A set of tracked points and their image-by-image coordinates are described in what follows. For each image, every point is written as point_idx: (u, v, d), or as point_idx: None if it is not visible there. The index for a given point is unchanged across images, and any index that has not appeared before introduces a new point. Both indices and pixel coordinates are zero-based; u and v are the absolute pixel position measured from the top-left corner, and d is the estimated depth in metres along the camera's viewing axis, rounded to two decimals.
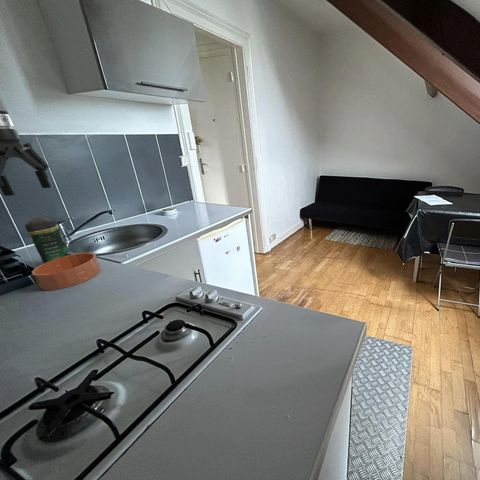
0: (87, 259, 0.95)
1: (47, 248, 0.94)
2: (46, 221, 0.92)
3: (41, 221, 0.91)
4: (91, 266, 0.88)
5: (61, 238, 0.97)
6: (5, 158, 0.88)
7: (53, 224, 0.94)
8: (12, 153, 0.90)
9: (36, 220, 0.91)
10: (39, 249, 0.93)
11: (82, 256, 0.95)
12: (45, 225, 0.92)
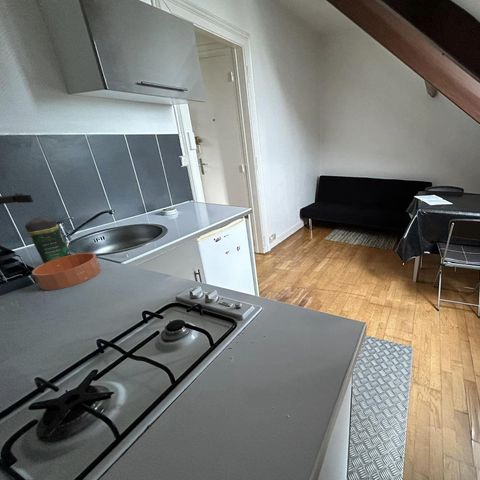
0: (87, 259, 0.95)
1: (47, 248, 0.94)
2: (46, 221, 0.92)
3: (41, 221, 0.91)
4: (91, 266, 0.88)
5: (61, 238, 0.97)
6: None
7: (53, 224, 0.94)
8: None
9: (36, 220, 0.91)
10: (39, 249, 0.93)
11: (82, 256, 0.95)
12: (45, 225, 0.92)
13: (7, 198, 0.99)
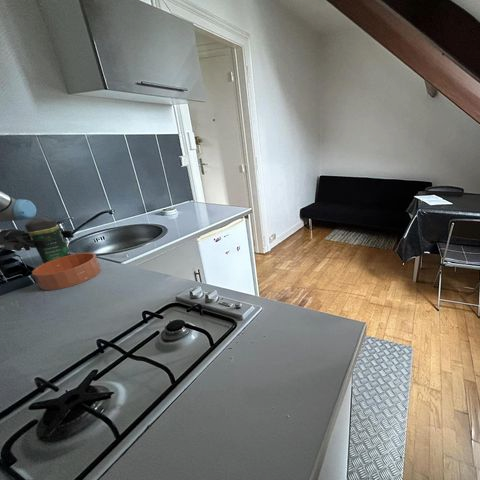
0: (87, 259, 0.95)
1: (47, 248, 0.94)
2: (46, 221, 0.92)
3: (41, 221, 0.91)
4: (91, 266, 0.88)
5: (61, 238, 0.97)
6: None
7: (53, 224, 0.94)
8: None
9: (36, 220, 0.91)
10: (39, 249, 0.93)
11: (82, 256, 0.95)
12: (45, 225, 0.92)
13: None
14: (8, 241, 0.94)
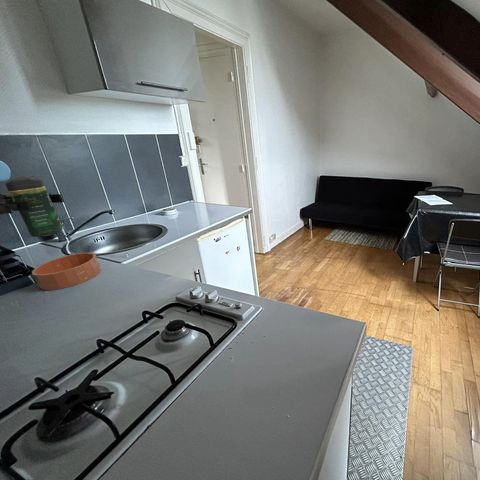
0: (87, 259, 0.95)
1: (32, 211, 0.80)
2: (31, 179, 0.79)
3: (25, 179, 0.78)
4: (91, 266, 0.88)
5: (49, 201, 0.84)
6: None
7: (39, 184, 0.81)
8: None
9: (19, 178, 0.78)
10: (22, 212, 0.80)
11: (82, 256, 0.95)
12: (29, 184, 0.79)
13: None
14: None
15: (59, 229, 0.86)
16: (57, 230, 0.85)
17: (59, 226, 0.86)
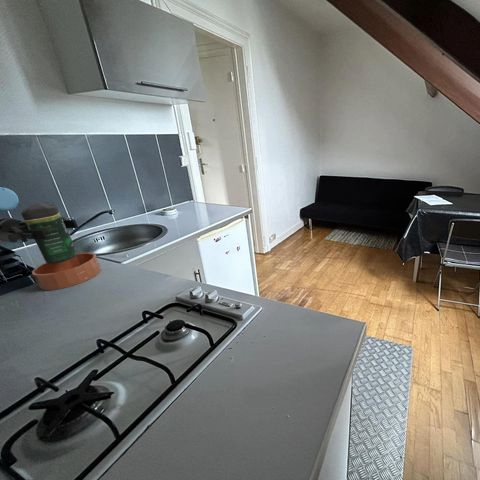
0: (87, 259, 0.95)
1: (47, 239, 0.80)
2: (46, 208, 0.79)
3: (40, 208, 0.78)
4: (91, 266, 0.88)
5: (63, 228, 0.83)
6: None
7: (54, 211, 0.80)
8: None
9: (34, 206, 0.78)
10: (38, 241, 0.80)
11: (82, 256, 0.95)
12: (45, 212, 0.78)
13: None
14: (2, 231, 0.80)
15: (74, 255, 0.86)
16: (72, 256, 0.85)
17: (73, 252, 0.86)
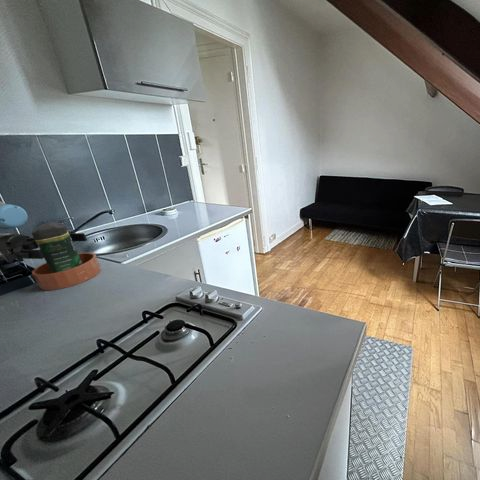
0: (87, 259, 0.95)
1: (56, 258, 0.83)
2: (56, 227, 0.81)
3: (50, 228, 0.80)
4: (91, 266, 0.88)
5: (72, 246, 0.86)
6: None
7: (63, 231, 0.83)
8: None
9: (44, 226, 0.80)
10: (48, 259, 0.82)
11: (82, 256, 0.95)
12: (55, 232, 0.81)
13: None
14: (11, 248, 0.83)
15: None
16: None
17: None
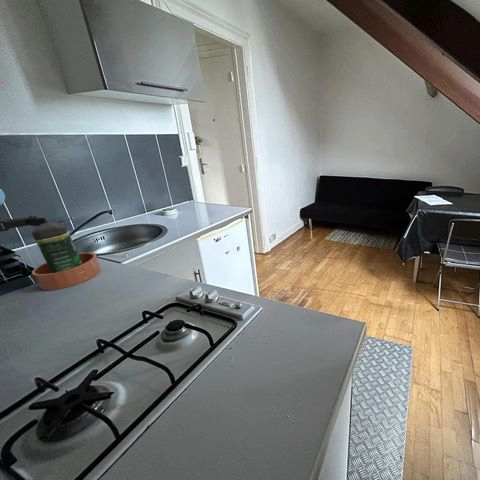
0: (87, 259, 0.95)
1: (56, 258, 0.83)
2: (56, 227, 0.81)
3: (50, 228, 0.80)
4: (91, 266, 0.88)
5: (72, 246, 0.86)
6: (9, 228, 0.91)
7: (63, 231, 0.83)
8: None
9: (44, 226, 0.80)
10: (48, 259, 0.82)
11: (82, 256, 0.95)
12: (55, 232, 0.81)
13: (20, 221, 0.92)
14: None
15: None
16: None
17: None
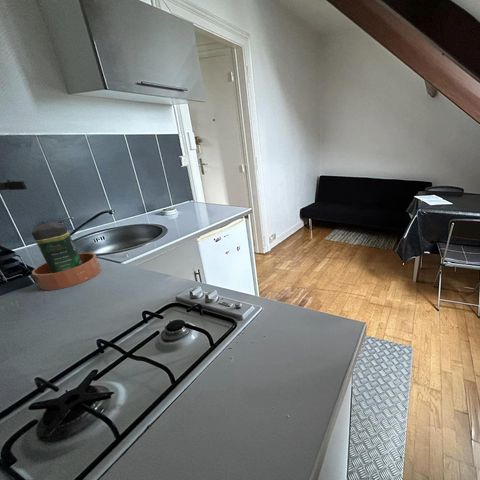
0: (87, 259, 0.95)
1: (56, 258, 0.83)
2: (56, 227, 0.81)
3: (50, 228, 0.80)
4: (91, 266, 0.88)
5: (72, 246, 0.86)
6: None
7: (63, 231, 0.83)
8: None
9: (44, 226, 0.80)
10: (48, 259, 0.82)
11: (82, 256, 0.95)
12: (55, 232, 0.81)
13: None
14: None
15: None
16: None
17: None
